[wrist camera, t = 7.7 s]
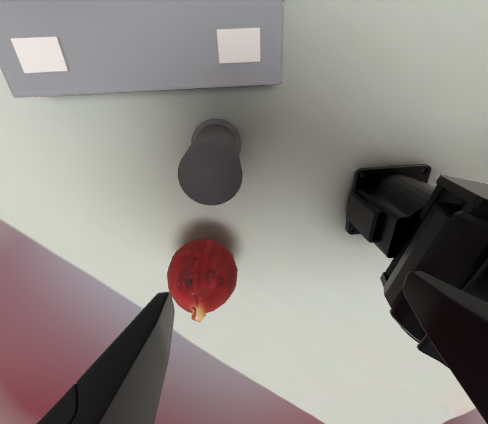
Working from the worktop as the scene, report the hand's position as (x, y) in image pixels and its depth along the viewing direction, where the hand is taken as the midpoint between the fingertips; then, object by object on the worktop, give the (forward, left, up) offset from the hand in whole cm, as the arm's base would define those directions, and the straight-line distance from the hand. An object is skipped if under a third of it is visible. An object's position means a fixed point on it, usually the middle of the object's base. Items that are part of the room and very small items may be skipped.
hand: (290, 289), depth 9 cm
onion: (+5, +7, -13) cm, 16 cm away
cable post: (+3, -3, -13) cm, 14 cm away
